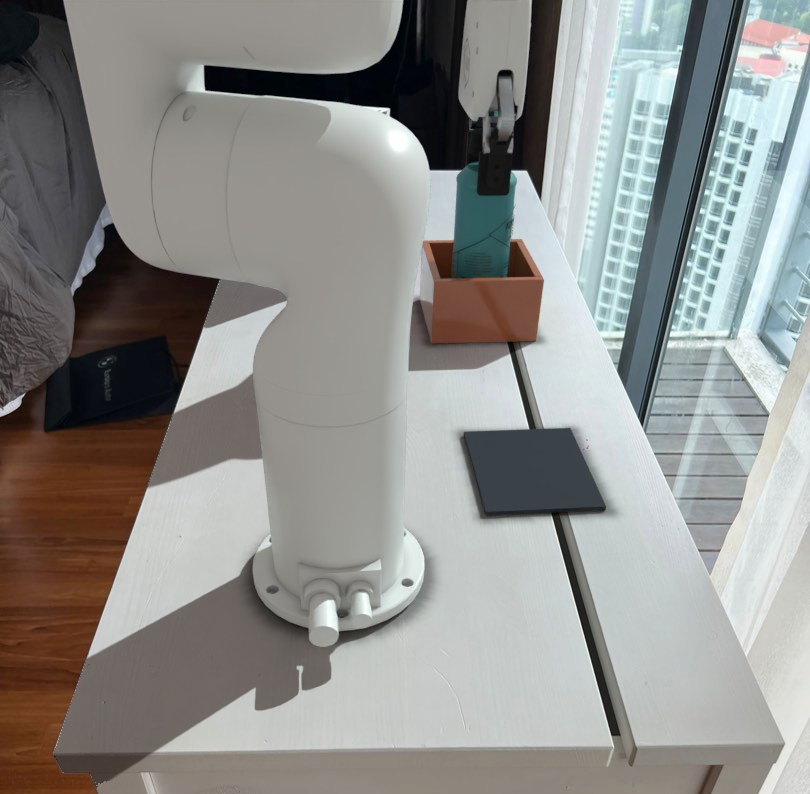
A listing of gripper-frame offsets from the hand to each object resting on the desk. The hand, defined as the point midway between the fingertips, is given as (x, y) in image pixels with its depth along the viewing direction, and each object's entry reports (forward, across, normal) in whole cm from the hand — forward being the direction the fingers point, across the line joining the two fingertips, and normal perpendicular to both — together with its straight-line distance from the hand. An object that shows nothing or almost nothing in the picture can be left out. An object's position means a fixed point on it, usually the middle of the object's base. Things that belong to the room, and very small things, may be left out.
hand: (486, 181), depth 86 cm
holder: (+15, 0, 0) cm, 15 cm away
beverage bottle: (+15, 0, 0) cm, 15 cm away
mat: (+15, +30, 0) cm, 34 cm away
